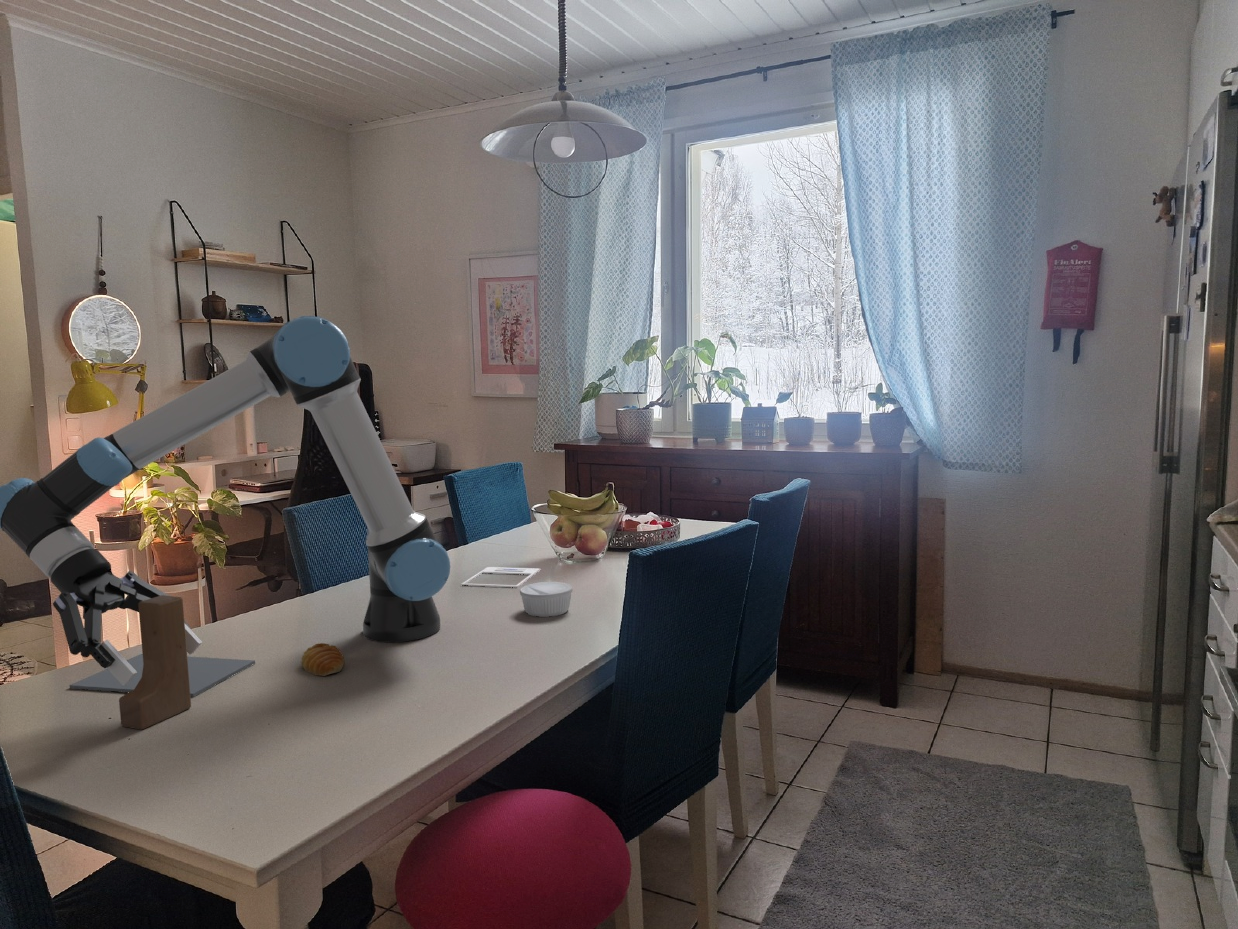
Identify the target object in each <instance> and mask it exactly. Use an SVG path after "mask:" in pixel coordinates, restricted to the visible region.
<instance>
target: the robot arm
mask: <svg viewBox="0 0 1238 929" xmlns="http://www.w3.org/2000/svg"><path fill="white" fill-rule="evenodd" d="M349 346H350V345H349V342H348V339H347V337H346V336H345V334H344V332H343V331H342V330H341V329H340V328H339V327H338V326H337V325H336V324H334V323H333V322H331V321H329V320H327V319H326V318H323V317H319V316H314V315H304V316H303V315H302V316H299V317H295V318H293V319H292V320H289V321H287V322H285V323H284V324H283V325H282V326H281V327H280V328H279V329H278V330H277V331H276V332H275V333H274V334H273V335H272V336H271V337H270V338H268V339H267V340H266V341H265V342H263V343H262V344H260V345H258V346H257V347H254V348H253V349H251V350H250V351H248V352H247V354H246V359H245V360H244V361H241V362H239V363H238V364H236V365H235V366H233V367H231V368H229V369H227V370H225V371H224V372H221V373H219V374H218V375H216V376H214V377H213V378H210V379H209V380H207V381H205V382H203V383H201V384H200V385H198V386H196V387H194V388H193V389H191V390H189V391H187V392H185V393H183V394H182V395H180V396H178V397H176V398H173V399H172V400H171V401H170V400H169V401H168V402H167V403H165V404H163V405H162V406H159V407H158V408H156V409H154V410H152V411H151V412H149V413H146V414H145V415H143V416H142V417H139V418H138V419H136V420H134V421H133V422H130V423H128V424H127V425H125V426H123V427H121V428H119V429H118V430H116V431H114V432H112V433H111V434H110V435H106V436H105V437H100V436H99V437H95V438H93V439H92V440H90V441H89V442H88V443H86V444H83V445H82V446H80V447H79V448H78V449H77V450H76V451H75V452H74V453H72V454H71V455H70V456H68V457H67V458H66V459H65V460H63V461H62V462H61V463H59V464H58V465H57V466H55V468H54V469H52V470H50V471H49V472H48V473H47V474H46V475H45V476H43V477H41V478H40V479H39V480H37V481H34V480H33V479H30V478H28V477H26V478H25V477H21V478H15V479H12V480H11V481H9V482H8V483H6V484H2V485H0V529H1V531H2V532H4V533H6V535H8V537H9V538H10V539H11V540H12V541H13V542H14V543H15V544H16V545H17V546H18V548H20V549H21V551H23V552H24V553H25V555H27V557H28V558H29V559H30V560H31V561H32V562H33V563H34V565H35V566H36V567H37V568H38V569H39V570H40V571H41V572H42V573H43V574H44V575H45V576H46V577H47V578H49V579H50V582H51V583H52V584H53V586H54V587H55V588H56V589H57V590H58V592H60V594H59V595H58V596H57V597H56V599H55V600H54V601H53V602H52V606H53V607H54V608H55V610H56V611H57V612H58V614H59V617H60V620H61V624H62V628H63V631H64V635H65V639H66V642H67V645H68V650H69V653H70V654H71V655H74V656H76V655H79V653H80V656H81V657H83V658H88V657H90V656H91V657H92V658H93V659H94V660H95V661H96V663H97V664H98V665H99V666H100V667H101V668H103V669H108V670H109V671H110V672H111V673H112V674H113V676H114V677H115V678H116V679H117V680H118V681H119V682H120V683H121V684H122V685H123V686H124V685H127V684H128V683H129V682H130V680H131V679H132V678H133V677H134V676H135V674H136V673H137V671H136V670H135V669H134V668H133V667H132V666H131V665H130V664H129V663H128V661H127V660H128V659H126V658H125V657H124V656H123V655H122V654H121V653H120V652H119V650H118V649H117V648H116V647H115V646H114V645H113V644H112V643H111V642H110V640H108V639H106V640H104V641H102V614H104V613H106V612H108V611H113V610H116V609H120V610H121V609H122V610H126V609H129V610H131V611H135V612H136V613H137V612H138V613H139V607H138V604H139V602H141V601H144V600H148V599H151V598H154V597H158V596H161V595H164V596H171V595H170V594H168V593H166V592H165V591H162V590H161V589H159V588H157V587H155V586H154V585H152V584H150V583H149V582H147V581H145V580H144V579H142V578H140V577H139V576H138V575H137V574H136V572H134V571H132V570H129V571H127V573H125V575H124V576H122V577H119V576H116V575H114V573H113V571H112V565H111V562H110V561H108V560H107V558H106V557H105V556H104V555H103V554H102V553H101V552H100V550H98V549H95V546H94V544H93V543H92V542H91V541H90V540H89V539H88V537H86V536H85V535H84V534H83V532H82V531H81V530H80V529H79V528H78V527H77V526H76V525H75V524H74V523H73V521H72V520H73V519H74V518H75V517H77V516H78V515H79V514H81V513H82V511H84V510H85V509H87V508H88V507H89V506H90V505H92V504H93V503H94V502H96V501H97V500H98V499H100V498H101V497H102V496H104V495H105V494H106V493H108V492H109V491H110V490H111V489H113V488H114V487H117V486H118V485H120V483H122V481H124V479H126V478H128V477H130V476H131V475H133V474H135V473H136V472H138V471H139V470H141V469H143V468H144V467H145V468H146V466H148V465H150V464H152V463H154V462H155V461H157V460H159V459H161V458H163V457H164V456H166V455H168V454H170V453H171V452H173V451H175V450H177V449H179V448H180V447H182V446H184V445H186V444H188V443H189V442H191V441H193V440H195V439H197V438H198V437H200V436H202V435H203V434H206V433H207V432H209V431H211V430H213V429H214V428H216V427H218V426H219V425H222V424H223V423H226V422H227V421H228V420H231V419H233V417H235V416H237V415H239V414H241V413H242V412H244V411H246V410H248V409H250V408H251V407H253V406H255V405H257V404H258V403H260V402H262V401H264V400H265V399H267V398H269V397H274V398H278V399H279V398H280V397H282V396H284V395H286V394H288V393H290V394H291V396H292V398H293V400H294V402H295V403H296V406H297V407H298V408H299V407H300V408H302V409H304V410H308V411H309V412H310V413H311V415H312V418H313V419H314V422H315V424H316V425H317V427H318V429H319V431H320V433H321V436H322V438H323V440H324V443H325V444H326V446H327V448H328V450H329V453H330V454H331V456H332V457H333V460H334V462H335V464H336V466H337V468H338V470H339V472H340V475H341V476H342V478H343V480H344V482H345V484H346V486H347V489H348V490H349V492H350V494H351V496H352V498H353V500H354V502H355V504H356V507H357V509H358V511H359V513H360V515H361V517H362V518H363V521H364V523H365V525H366V528H367V529H366V531H367V532H366V537H365V538H366V540H365V544H366V546H367V554H368V557H367V558H368V574H369V591H370V594H369V595H370V597H369V601H368V604H367V608H366V612H365V616H364V618H363V622H362V631H363V632H362V634H363V637H364V638H366V640H370V641H374V642H381V643H400V642H408V641H409V642H411V641H416V640H420V639H424V638H427V637H430V636H432V635H434V634H436V633H438V632H439V631H440V630H441V618H440V614H439V611H438V609H437V606H436V603H435V601H434V599H433V598H434V596H435V595H436V594H437V593H438V594H439V592H440V591H441V590H442V589H443V588H444V587H445V585H446V583H447V581H448V579H449V577H450V573H451V560H450V557H449V554H448V551H447V550H446V549H445V548H444V546H443V545H442V544H441V543H440V542H438V539H437V537H436V536H435V533H434V531H433V528H432V526H431V525H430V523H429V521H428V518H427V516H426V515H425V514H424V513H421V512H417V511H416V510H414V509H413V507H412V506H413V505H411V502H410V500H409V498H408V496H407V494H406V492H405V490H404V488H403V485H402V483H401V481H400V479H399V477H398V475H397V473H396V471H395V468H394V467H393V465H392V462H391V460H390V458H389V456H388V454H387V452H386V450H385V448H384V445H383V443H382V442H381V440H380V437H379V435H378V433H377V431H376V429H375V427H374V425H373V422H372V420H371V418H370V417H369V414H368V413H367V410H366V408H365V406H364V403H363V402H362V401H363V400H362V399H361V397H360V395H359V392H358V388H359V386H360V383H361V380H362V379H361V376H360V375H359V372H358V371H357V368H356V366H355V363H354V362H353V360H352V358H351V351H350V350H351V349H350V347H349ZM79 606H80V607H82V617H81V613H80V609H79ZM83 620H84V623H83ZM184 623H185V635H186V648H187V654H188V655H192V654H194V652H196V650H197V649H199V647H200V646H201V645H202V644H203V641H202V640H201V639H200V638H199V637H198V636H197V634H196V633H194V632H193V630H192V629H191V627H190V625H189V624H188V623H187V621H186V620H184ZM101 642H102V643H101Z"/></svg>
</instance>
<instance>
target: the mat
mask: <svg viewBox="0 0 1238 929" xmlns="http://www.w3.org/2000/svg"><path fill="white" fill-rule="evenodd" d="M126 660H127V661H128V663H129V664H130V665H131V666H132V667H133V668H134V669H135V670H136V671H137V673H136V674H135V676H134V677H133V678H132V679H131V680H130V682H129V683H128V684H127V685H124V686H123V685H122V684H121V683H120V682H119V681H118V680H117V679H116V678H115V677H114V676H113V674H112V673H111V672H110V671H109V670H108V669H107V668H104V670H102V671H99V672H97V673H94V674H92V675H90V676H87V677H84V678H83V679H80V680H78V681H76V682H74V683H71V684H69V689H73V690H82V689H85V690H84V691H97V690H99V691H98V692H111V691H119V692H118V693H125V692H130V691H132V690H134V689H135V687H136V686H137V684H138V682H139V681H140V679H141V678H142V671H143V653H139V654H138V655H136V656H133V657H130V658H128V659H126ZM187 660H188V672H189V685H190V698H195V697H197V696H199V695H200V694H202V693H204V692H207V691H208V690H209V688H210V689H212V688H214V687H215V686H216V685H215V684H217V685H219V684H220V683H219V682H221V681H222V682H224V681H226V680H228V679H230V678H231V676H232V675H233V676H235V675H237V674H239V673H241V672H243V671H244V670H246V669H248V668H250V667H251V665H252V664H254V665H255V664H256V660H253V659H237V658H220V657H219V658H217V657H216V658H215V657H202V656H201V657H200V656H187ZM252 666H253V665H252ZM247 667H248V668H247ZM245 668H246V669H245ZM242 670H243V671H242ZM240 671H241V672H240ZM238 672H239V673H238ZM236 673H237V674H236ZM234 674H235V675H234ZM233 676H232V677H233ZM229 677H230V678H229ZM227 678H228V679H227ZM225 679H226V680H225ZM222 682H221V683H222ZM218 683H219V684H218ZM214 685H215V686H214ZM86 689H88V690H86ZM207 689H208V690H207ZM100 690H101V691H100ZM120 691H122V692H120ZM203 691H204V692H203ZM196 695H197V696H196Z"/></svg>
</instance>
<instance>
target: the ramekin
mask: <svg viewBox="0 0 1238 929" xmlns="http://www.w3.org/2000/svg"><path fill="white" fill-rule="evenodd" d="M572 593H573V586H572V585H571V584H569V583H567V582H562V581H542V582H534V583H530V584H526V585H525V586H524V585H523V586H522V587H521V588H520V590H519V595H520V596H521V599H522V605H523V608H524V609H523V610H524V612H525V613H526V614H527V613H528V614H527V615H529V616H532V617H536V616H539V618H540V617H541V618H549V616H552V617H556V616H560V615H564V614H566V613H567V612H568V611H569V608H570V606H571V605H570V604H571V598H572Z"/></svg>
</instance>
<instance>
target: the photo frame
mask: <svg viewBox="0 0 1238 929" xmlns="http://www.w3.org/2000/svg"><path fill="white" fill-rule="evenodd" d="M540 570H541V568H537V567H536V568H533V567H532V568H531V567H530V568H529V567H502V566H500V567H499V566H487V567H485V568H483V569H482V570H481V571H479V572H477V573H476V574H475V575H472V576H471V577H469V578H468V579H466V580H464V581H463V582H461V584H460V586H461V585H471V586H470V587H475V586H485V587H484V588H501V587H511V588H510V589H517V588H516V587H519V586H520V585H521V586H522V585H524V584H525V583H526V582H527V580H528V579H529V578H530V579H531V577H532V576H533V575H534V576H535V575H537V574H538V573H539V572H540ZM537 572H538V573H537ZM482 573H493V574H492V575H506V574H519V575H518V576H526V577H525V578H523V579H522V580H521V581H519V583H517V584H516V585H515V584H493V583H491V584H489V583H488V584H487V583H470V581H471V580H472V579H473V578H475V579H477V578H478V577H479V575H480V576H481V575H483V574H482ZM536 573H537V574H536ZM520 574H521V575H520ZM523 574H524V575H523ZM477 576H478V577H477ZM534 576H533V577H534ZM476 577H477V578H476ZM533 577H532V578H533ZM530 579H529V580H530ZM529 580H528V581H529ZM472 581H473V580H472ZM472 581H471V582H472ZM468 582H469V583H468ZM524 582H525V583H524ZM523 583H524V584H523ZM521 586H520V587H521ZM512 587H513V588H512ZM514 587H515V588H514ZM520 587H519V588H520Z"/></svg>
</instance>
